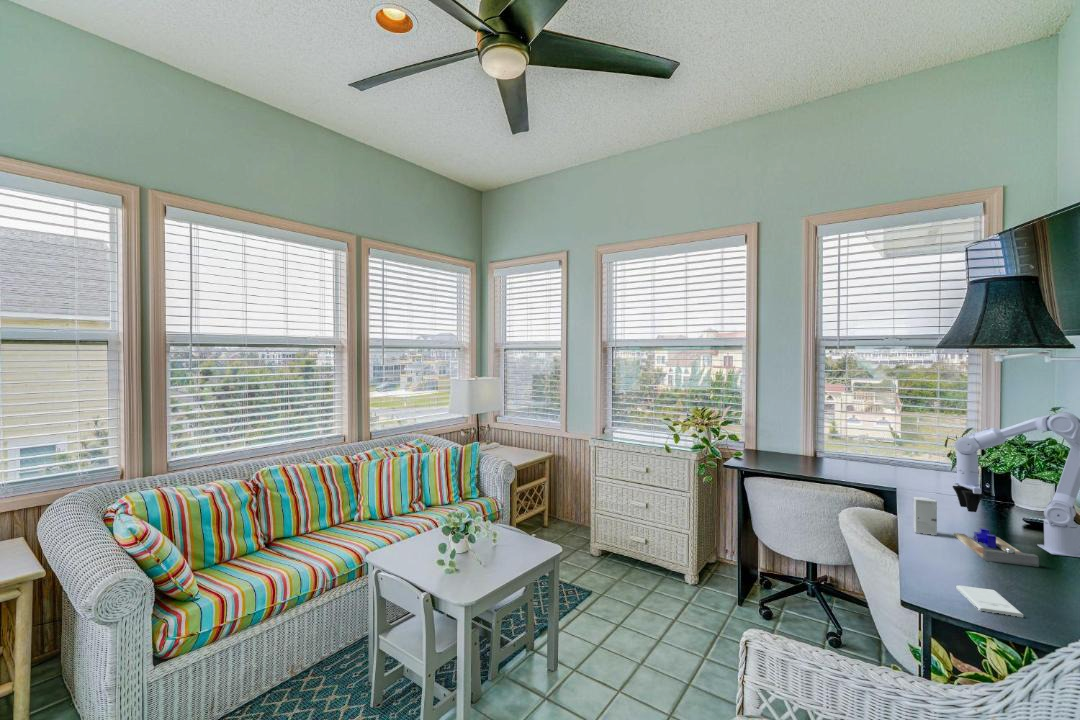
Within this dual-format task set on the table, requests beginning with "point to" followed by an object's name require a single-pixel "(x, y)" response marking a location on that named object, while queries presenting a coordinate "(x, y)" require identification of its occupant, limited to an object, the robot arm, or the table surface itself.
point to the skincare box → (925, 515)
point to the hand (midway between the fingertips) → (968, 509)
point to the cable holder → (985, 538)
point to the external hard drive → (988, 600)
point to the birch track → (978, 548)
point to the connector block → (1011, 557)
